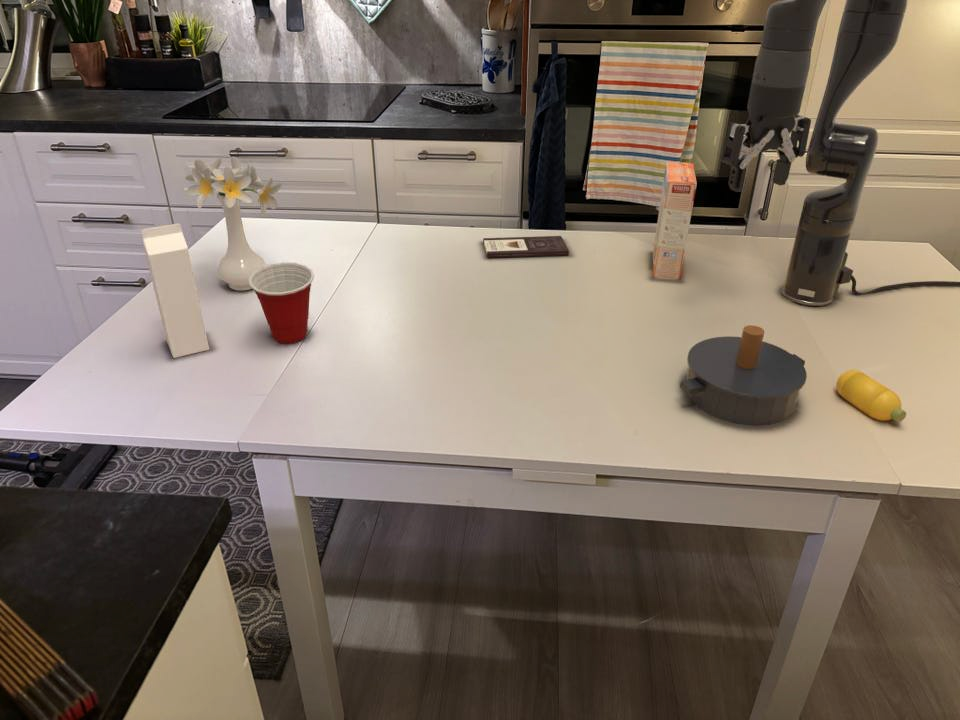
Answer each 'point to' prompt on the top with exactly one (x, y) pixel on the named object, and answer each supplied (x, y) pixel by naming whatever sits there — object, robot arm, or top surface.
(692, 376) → the pan
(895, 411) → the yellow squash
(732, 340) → the lid
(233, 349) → the top surface
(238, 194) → the flower vase
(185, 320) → the milk
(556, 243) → the chocolate bar
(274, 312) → the plastic cup
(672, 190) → the cracker box
